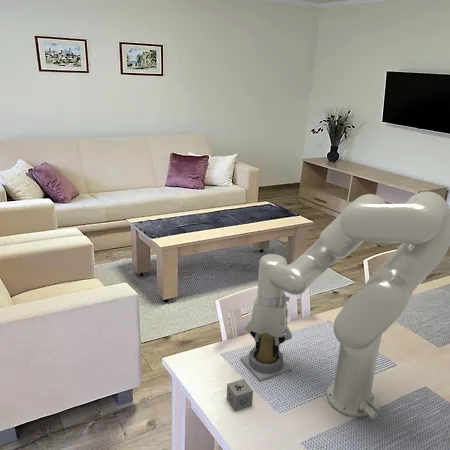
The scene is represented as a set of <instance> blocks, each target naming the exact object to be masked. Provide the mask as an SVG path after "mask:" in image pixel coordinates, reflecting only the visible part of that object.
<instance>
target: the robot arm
mask: <svg viewBox="0 0 450 450" xmlns="http://www.w3.org/2000/svg"><path fill="white" fill-rule="evenodd" d="M327 225H328V226H325V228H324V229H323V230H322V231H321V233H320V234H319V237H318V239H317V240H315V242H314V243H313V244H311V246H309V248H307V249H306V251H304V252H303V253H302V254H301V255H300V256H299V257H298V258H296V259H294V261H292V263H290V264H288V263H287V259H286V257H284V256H282V255H280V254H276V253H275V254H274V253H268V254H265V255H263V256H262V257H261V258H260V259H259V263H258V278H257V279H258V280H257V296H256V297H255V299H254V302H253V306H252V313H251V317H250V318H251V319H250V320H249V322H248V323H247V324H246V325H245V326H244V330H245V331H246V332H247V333H249V335H250V336H251V337H252V338H253V339H254V341H255V349H257V354H258V353H259V349H260V338H261V337H260V334H263V333H269V334H270V335H271V336H274V340H275V343H274V345H273V357H275V355H276V353H277V354H278V352H279V351H280V346H281V344H283V343H285V342H286V341H288V340H292V338H293V335H294V334H293V333H292V331H291V330H290V328H289V326H288V318H289V314H288V303H289V302H290V296H287V295H286V293H288V294H291V295H295V296H298V295H301V294H303V293H304V292H306V290H307V289H309V287H311V285H312V284H313V283H314V282H315V281H316V280H317V279H318V278H319V277H320V276H321V275H322V274H323V273H324V272H326V271H327V270H328V269H329V268H330V267H331V266H333V265H334V264H335V263H336V262H338V261H339V260H340V259H346V258H347V257H348V256H350V255H351V254H352V253H353V252H354V251H355V250H356V249H357V248H359V246H361V245H362V244H363V243H377V244H378V243H380V244H400V245H399V246H398V247H397V249H396V250H395V252H394V253H392V255H391V256H390V257H389V258H388V259H387V260H386V261H385V262H384V263H383V264H382V265H381V266H380V267H379V268H378V269H376V270H375V271H374V272H373V273H372V274H371V275H370V277H369V278H368V280H367V281H366V283H365V284H364V285H363V287H362V288H361V289H360V290H359V291H357V292H356V293H354V294H352V295H351V296H350V297H349V299H348V300H347V301H346V302H345V304H344V305H343V306H342V308H341V309H340V311H339V312H338V314H337V315H336V317H335V319H334V321H333V333H334V336H335V338H336V339H337V341H338V342H339V346H338V347H339V348H338V355H337V362H336V368H335V375H334V382H333V383H331V384H330V385H329V386H328V387H327V390H326V398H327V401H328V403H329V404H330V405H331V406H332V407H333V408H334V409H335V410H336V411H338V412H339V413H342V414H344V415H346V416H350V417H354V418H357V417H358V418H361V417H362V418H363V417H366V416H368V417H369V418H370V419H371V420H376V418H377V417H378V413H379V412H380V411H381V408H380V406H379V405H377V403H376V402H377V401H376V398H375V394H374V393H373V392H372V391H373V386H374V385H373V384H374V380H375V379H374V378H375V372H376V370H377V369H376V368H377V367H376V366H377V362H378V357H379V352H380V346H381V343H382V341H381V340H382V337H383V334H384V333H385V332H386V331H387V330H388V329H389V328H390V327H391V326H392V325H393V324H394V323H395V322H396V321H398V319H399V318H400V317H401V316H402V314H403V313H404V312H405V310H406V308H407V306H408V304H409V302H410V300H411V297H412V295H413V293H414V291H415V290H416V289H417V288H418V287H419V285H420V284H422V283H423V281H424V280H425V279H426V278H427V277H428V276H429V275H430V273H432V271H434V269H435V268H436V267H437V266H438V265H439V264H440V262H441V261H442V260H443V259H444V257H445V255H446V254H447V253H448V250H449V248H450V206H449V204H448V203H447V201H446V199H444V197H442V196H441V195H440V194H438V193H436V192H432V191H421V192H417V193H416V194H414V195H412V196H411V197H409V198H408V199H407V200H406V202H405V203H387V202H386V201H385V200H384V199H383V198H382V197H381V196H378V195H376V194H373V193H368V194H363V195H360V196H359V197H357V198H356V199H355V200H353V201H352V202H351V203H349V204H348V205H347V206H346V207H344V210H343V211H342V212H341V213H340V214H339V215H338V216H337V217H336V218H335V219H333V221H332V222H330V223H329V224H327ZM287 302H288V303H287Z"/></svg>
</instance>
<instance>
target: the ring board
mask: <svg viewBox="0 0 450 450" xmlns="http://www.w3.org/2000/svg"><path fill="white" fill-rule="evenodd" d="M256 357H257V349H255V347H252V349H251V350H250V351H249V353H248V354H247V355H244V356H241V357H240V358H239V359H240V362H242V364H243V365H244V366H245V368H247V370H249V372H250V373H251V374H252V376H253V377H254V378H255V379H256V380H257V381H258V383H262V382H264V381H268V380H270V379H274V378H276V377H279V376H282V375H284V374H287V373H291V372H292V370H293V369H292V367H291V366H290V365H289V364H288V363H287V362H286V361H285V360H284V354H283V353H282V352H281V350H279V352H278V354H277V353H276V362H275V363H272V364H263V363H260V362H258V361H257V360H256Z"/></svg>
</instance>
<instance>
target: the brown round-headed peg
mask: <svg viewBox="0 0 450 450" xmlns="http://www.w3.org/2000/svg"><path fill="white" fill-rule="evenodd" d="M260 337H261V338H260V349H259V353H258V354H257V357H256V360H257V361H258V362H260V363H263V364H272V363H275V362H276V355H275V357H273V345H274V343H275V340H274V336H271V335H270V334H269V333H263V334H260Z"/></svg>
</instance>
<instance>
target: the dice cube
mask: <svg viewBox="0 0 450 450" xmlns="http://www.w3.org/2000/svg"><path fill="white" fill-rule="evenodd" d="M253 397H254V390H253V389H252V388H251V386H250V385H249V383H248V382H247V381H246V379H245V378H242V379H239V380H235V381H233V382H229V383H227V384H226V400H227V401H228V403H229V405H230V407H231V408H232V409H233V411H234V412H239V411H241V410H244V409H247V408H250V407H253Z"/></svg>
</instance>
